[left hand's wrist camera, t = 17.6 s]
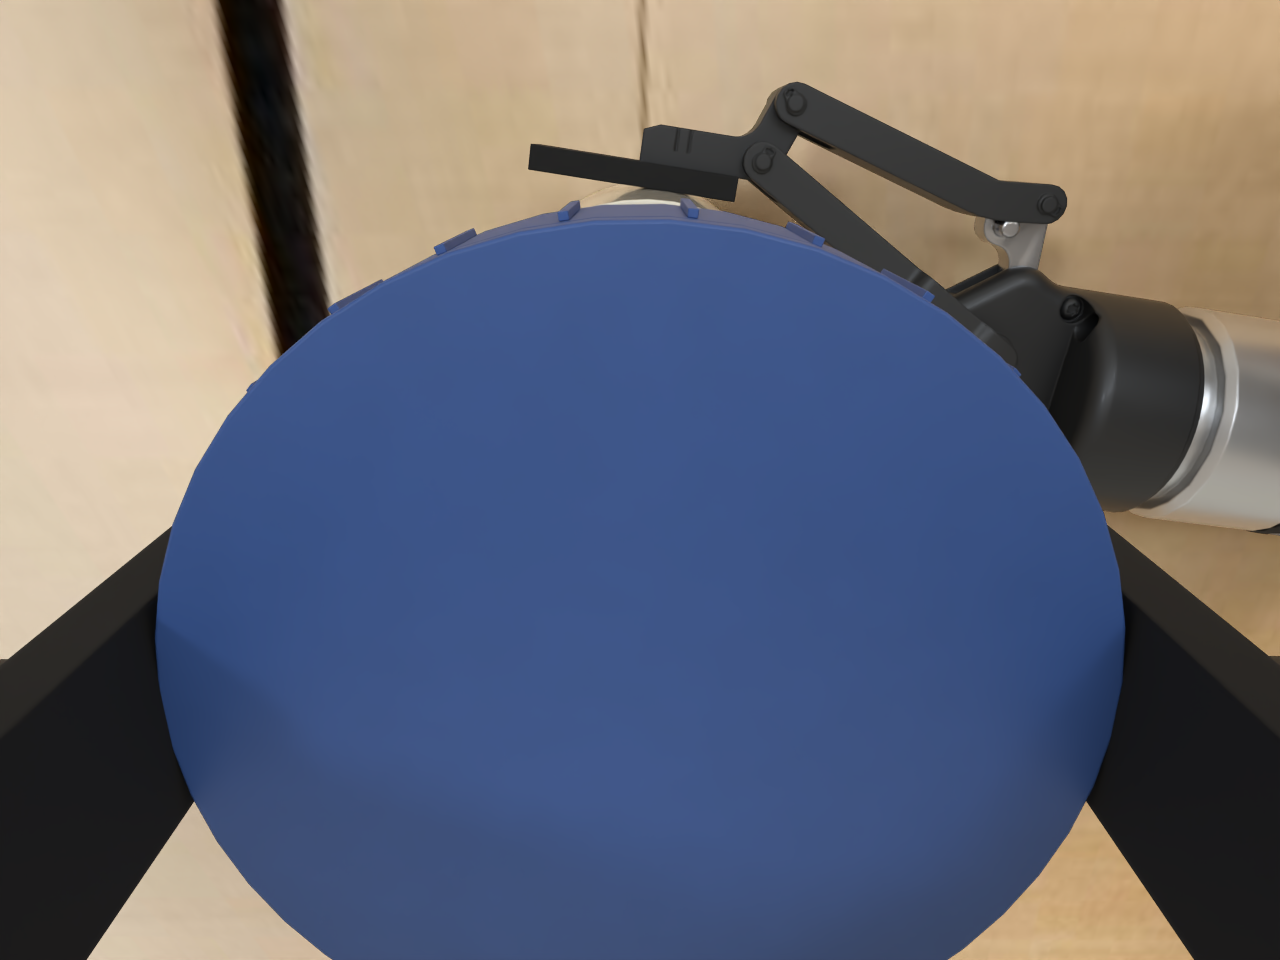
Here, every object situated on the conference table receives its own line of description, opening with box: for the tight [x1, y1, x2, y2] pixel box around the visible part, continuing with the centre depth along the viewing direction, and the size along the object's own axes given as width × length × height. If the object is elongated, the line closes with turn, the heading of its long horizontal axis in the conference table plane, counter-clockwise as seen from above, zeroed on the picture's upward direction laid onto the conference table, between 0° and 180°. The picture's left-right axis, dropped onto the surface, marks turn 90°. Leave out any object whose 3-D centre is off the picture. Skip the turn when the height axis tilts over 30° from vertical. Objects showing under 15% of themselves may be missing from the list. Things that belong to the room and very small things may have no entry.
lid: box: [155, 198, 1125, 960], centre depth 11 cm, size 11×11×2 cm
